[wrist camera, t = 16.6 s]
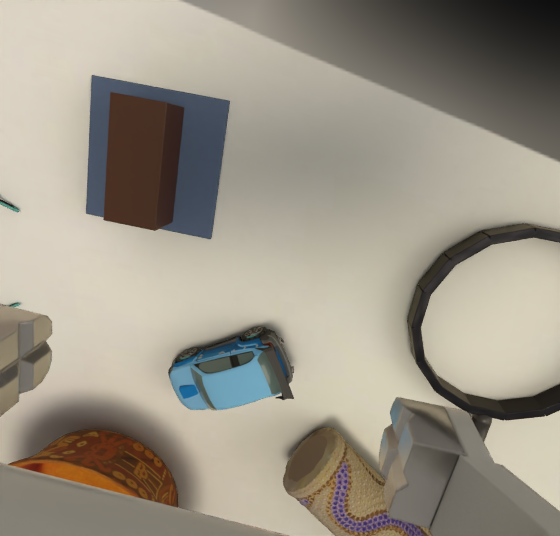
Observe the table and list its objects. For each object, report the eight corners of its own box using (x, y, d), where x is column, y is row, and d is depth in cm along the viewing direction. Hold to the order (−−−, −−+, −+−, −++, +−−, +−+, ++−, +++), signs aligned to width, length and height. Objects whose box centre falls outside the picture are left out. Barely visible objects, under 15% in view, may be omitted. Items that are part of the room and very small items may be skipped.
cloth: (93, 75, 35) (91, 75, 35) (230, 101, 34) (229, 100, 34) (87, 213, 39) (85, 213, 38) (211, 238, 38) (210, 239, 38)
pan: (440, 206, 35) (448, 210, 33) (652, 248, 34) (676, 255, 32) (371, 436, 42) (374, 453, 40) (546, 476, 41) (559, 495, 39)
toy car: (170, 351, 42) (146, 382, 36) (280, 318, 40) (272, 345, 34) (192, 400, 43) (173, 436, 38) (300, 370, 41) (296, 405, 35)
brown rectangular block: (133, 97, 35) (110, 91, 31) (184, 107, 35) (167, 102, 31) (125, 212, 38) (103, 220, 34) (172, 222, 38) (155, 230, 34)
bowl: (150, 371, 43) (99, 435, 33) (238, 525, 47) (216, 620, 38) (-3, 429, 47) (-86, 500, 38) (91, 565, 52) (38, 659, 42)
